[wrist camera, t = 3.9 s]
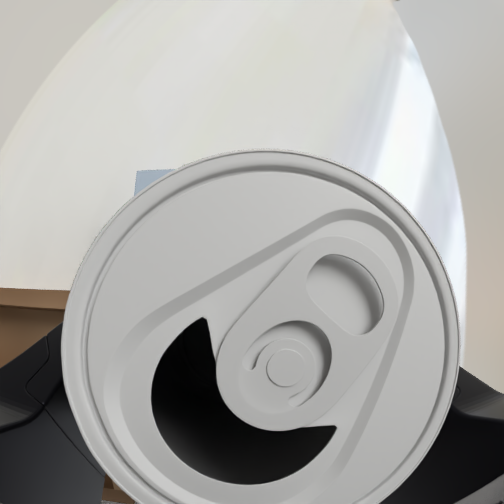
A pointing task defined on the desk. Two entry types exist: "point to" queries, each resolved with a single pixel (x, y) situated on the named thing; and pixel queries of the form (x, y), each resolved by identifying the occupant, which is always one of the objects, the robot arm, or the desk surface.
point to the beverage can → (261, 336)
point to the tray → (33, 329)
